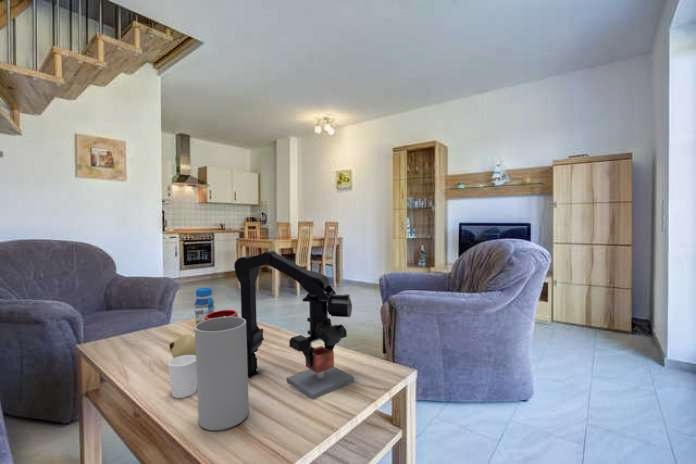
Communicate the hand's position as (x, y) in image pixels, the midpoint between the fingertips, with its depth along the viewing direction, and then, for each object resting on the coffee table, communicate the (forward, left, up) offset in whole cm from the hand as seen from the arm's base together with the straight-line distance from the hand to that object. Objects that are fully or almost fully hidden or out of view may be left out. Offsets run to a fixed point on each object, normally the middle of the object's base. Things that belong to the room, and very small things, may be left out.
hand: (319, 363), depth 108 cm
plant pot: (-9, +58, -6) cm, 59 cm away
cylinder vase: (-30, +2, -6) cm, 31 cm away
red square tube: (0, 0, -1) cm, 1 cm away
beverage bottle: (-10, +76, -6) cm, 77 cm away
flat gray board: (0, 0, -6) cm, 6 cm away
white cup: (-34, +23, -6) cm, 41 cm away
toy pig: (-27, +45, -6) cm, 53 cm away
